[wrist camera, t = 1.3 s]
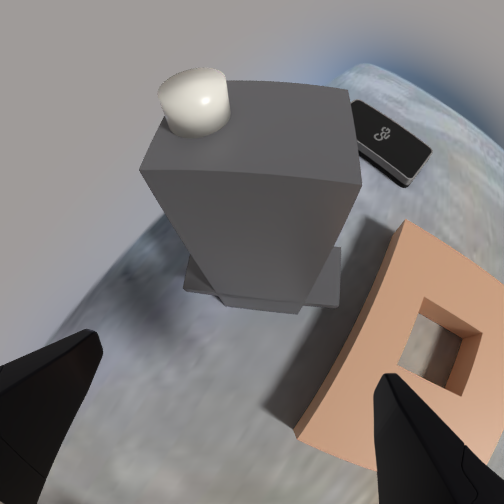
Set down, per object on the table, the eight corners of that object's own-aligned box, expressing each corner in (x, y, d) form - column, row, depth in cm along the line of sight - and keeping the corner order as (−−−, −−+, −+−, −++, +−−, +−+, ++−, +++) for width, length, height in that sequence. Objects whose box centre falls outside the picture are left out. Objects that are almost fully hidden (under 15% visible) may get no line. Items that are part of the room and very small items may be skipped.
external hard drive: (403, 193, 25) (411, 181, 23) (320, 132, 28) (323, 119, 27) (427, 161, 27) (434, 150, 25) (353, 109, 30) (356, 97, 28)
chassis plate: (452, 485, 13) (469, 493, 10) (293, 429, 17) (297, 439, 15) (517, 318, 18) (535, 311, 16) (392, 235, 23) (405, 218, 20)
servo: (329, 267, 22) (420, 76, 6) (326, 317, 21) (463, 171, 5) (206, 254, 23) (117, 65, 7) (197, 302, 22) (57, 146, 6)
